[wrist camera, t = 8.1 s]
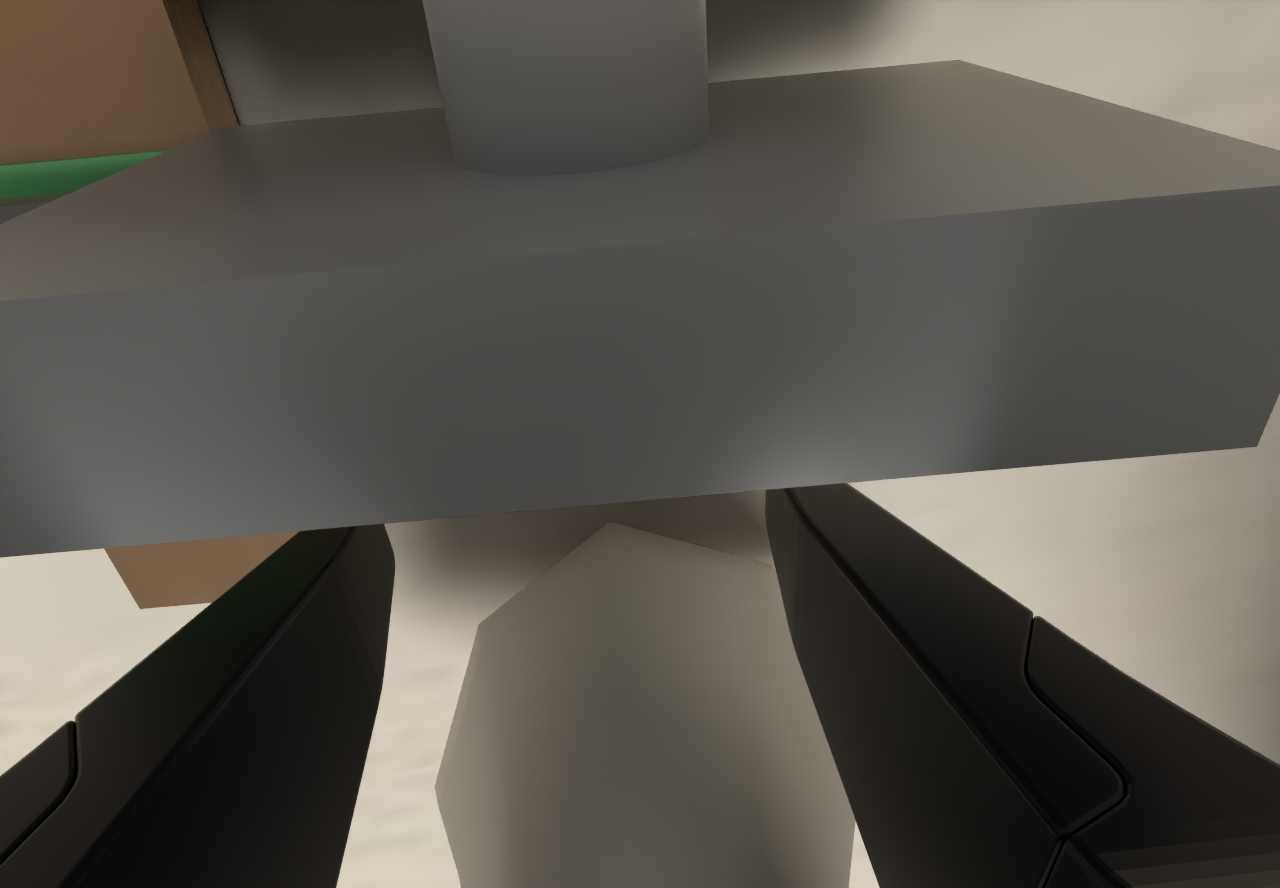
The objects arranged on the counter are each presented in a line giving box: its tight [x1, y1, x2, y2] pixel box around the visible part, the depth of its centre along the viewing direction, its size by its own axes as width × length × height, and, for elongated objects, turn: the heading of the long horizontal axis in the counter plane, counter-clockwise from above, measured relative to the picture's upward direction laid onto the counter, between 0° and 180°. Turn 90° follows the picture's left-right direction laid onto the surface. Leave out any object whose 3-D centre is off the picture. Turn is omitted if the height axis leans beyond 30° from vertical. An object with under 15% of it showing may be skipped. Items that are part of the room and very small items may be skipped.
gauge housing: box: [0, 0, 299, 609], centre depth 7 cm, size 14×13×6 cm
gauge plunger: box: [0, 0, 1280, 557], centre depth 6 cm, size 5×12×5 cm, turn 95°
